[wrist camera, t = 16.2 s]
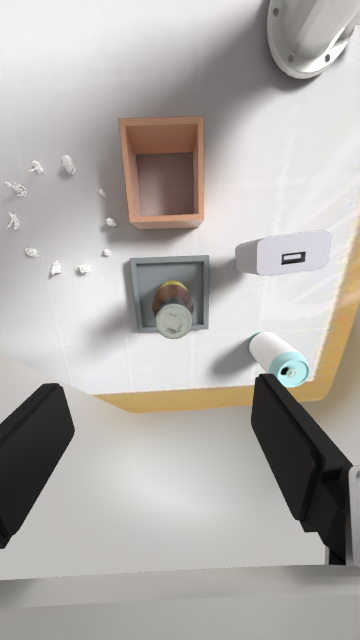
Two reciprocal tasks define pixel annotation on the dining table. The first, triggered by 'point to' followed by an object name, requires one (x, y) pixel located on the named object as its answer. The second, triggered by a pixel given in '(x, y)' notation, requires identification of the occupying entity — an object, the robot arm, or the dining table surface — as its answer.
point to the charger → (284, 253)
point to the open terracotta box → (155, 140)
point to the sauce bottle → (173, 309)
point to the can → (279, 359)
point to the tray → (161, 269)
